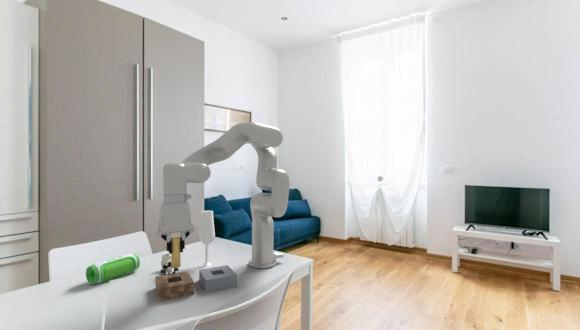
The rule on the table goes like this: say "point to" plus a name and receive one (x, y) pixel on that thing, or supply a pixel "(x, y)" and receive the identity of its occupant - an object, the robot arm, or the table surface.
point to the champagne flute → (206, 232)
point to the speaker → (112, 268)
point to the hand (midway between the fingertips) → (175, 251)
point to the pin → (175, 252)
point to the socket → (217, 278)
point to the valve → (167, 264)
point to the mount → (174, 285)
